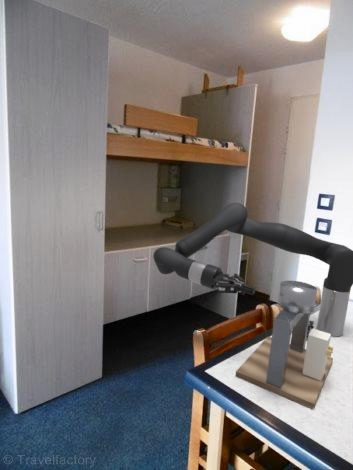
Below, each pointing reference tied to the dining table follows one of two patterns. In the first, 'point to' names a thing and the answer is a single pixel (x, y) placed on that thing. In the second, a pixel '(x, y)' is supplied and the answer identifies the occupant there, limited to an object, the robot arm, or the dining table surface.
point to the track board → (294, 383)
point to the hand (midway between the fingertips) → (254, 291)
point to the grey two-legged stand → (289, 327)
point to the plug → (317, 354)
